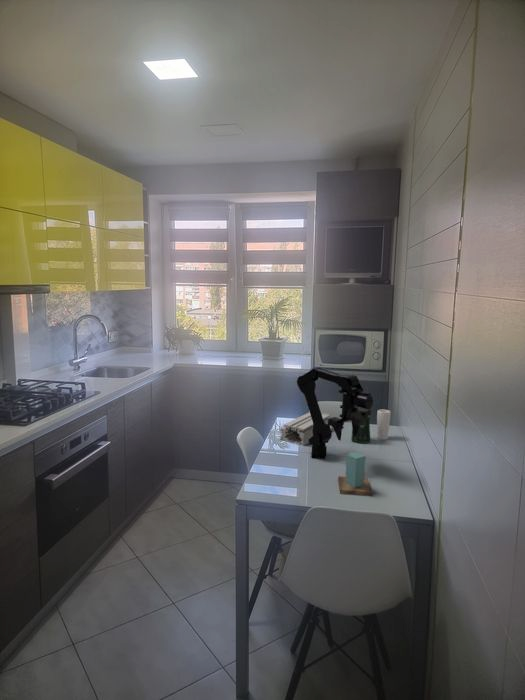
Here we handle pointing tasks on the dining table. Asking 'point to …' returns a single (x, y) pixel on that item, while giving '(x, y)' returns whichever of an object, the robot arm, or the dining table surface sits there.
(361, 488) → the walnut board
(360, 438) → the coffee jar
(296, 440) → the aluminum extrusion profile
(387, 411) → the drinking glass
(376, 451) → the dining table surface
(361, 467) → the teal block
